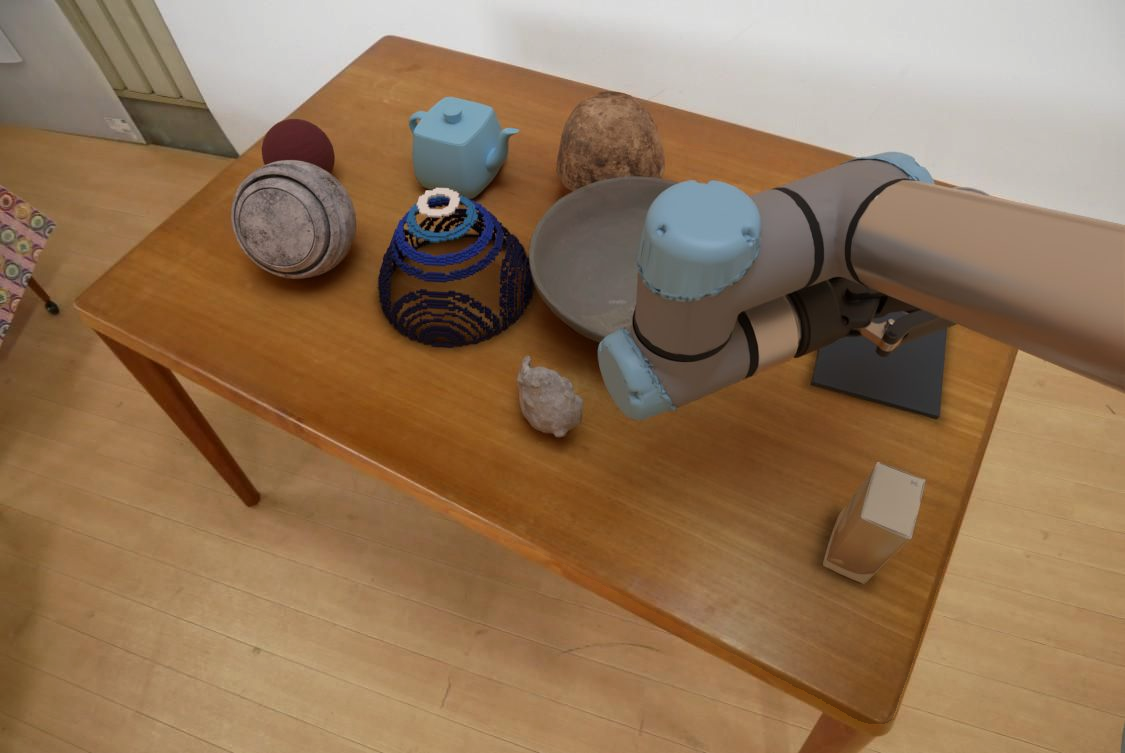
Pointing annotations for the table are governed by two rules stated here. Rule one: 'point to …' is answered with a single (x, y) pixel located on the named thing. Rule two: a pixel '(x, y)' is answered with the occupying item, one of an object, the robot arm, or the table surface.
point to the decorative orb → (293, 219)
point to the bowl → (593, 253)
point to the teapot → (458, 146)
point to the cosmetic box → (874, 523)
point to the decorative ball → (298, 144)
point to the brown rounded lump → (609, 141)
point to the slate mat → (886, 371)
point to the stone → (548, 399)
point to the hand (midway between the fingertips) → (988, 235)
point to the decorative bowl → (402, 246)
